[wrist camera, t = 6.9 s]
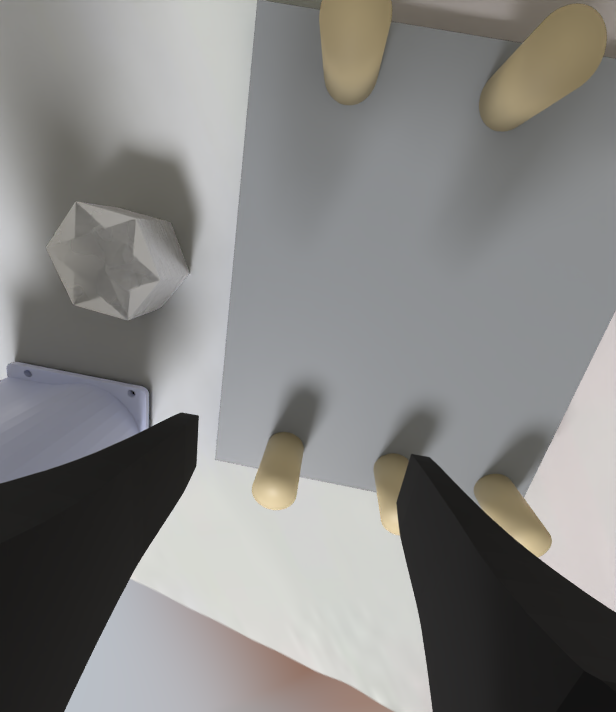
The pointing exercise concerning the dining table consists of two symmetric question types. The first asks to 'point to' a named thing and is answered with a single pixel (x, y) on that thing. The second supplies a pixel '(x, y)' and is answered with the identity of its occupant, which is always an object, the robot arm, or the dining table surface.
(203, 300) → the dining table surface
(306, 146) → the board
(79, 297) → the faceted star polyhedron
